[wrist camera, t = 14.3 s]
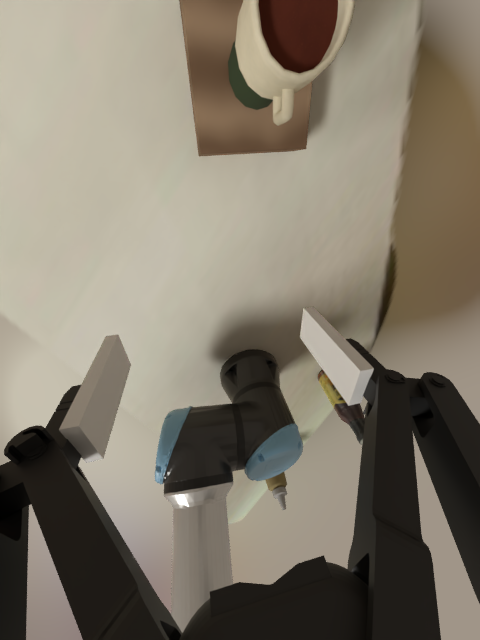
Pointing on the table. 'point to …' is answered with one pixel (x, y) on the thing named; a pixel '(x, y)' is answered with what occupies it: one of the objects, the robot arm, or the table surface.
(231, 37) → the walnut stand
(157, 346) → the table surface
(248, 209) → the table surface
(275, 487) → the squeeze bottle
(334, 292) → the table surface
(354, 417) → the sauce bottle
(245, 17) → the character mug
